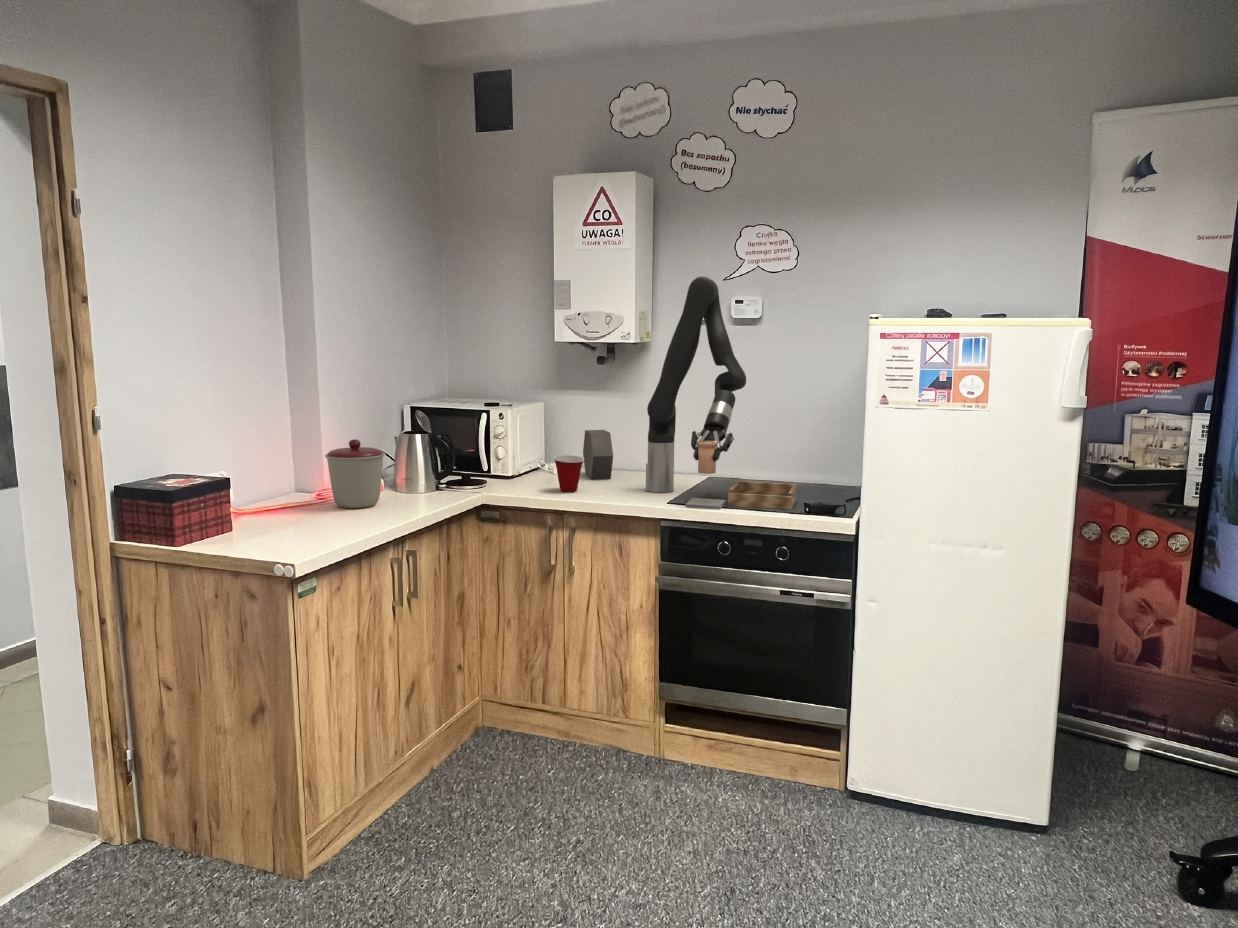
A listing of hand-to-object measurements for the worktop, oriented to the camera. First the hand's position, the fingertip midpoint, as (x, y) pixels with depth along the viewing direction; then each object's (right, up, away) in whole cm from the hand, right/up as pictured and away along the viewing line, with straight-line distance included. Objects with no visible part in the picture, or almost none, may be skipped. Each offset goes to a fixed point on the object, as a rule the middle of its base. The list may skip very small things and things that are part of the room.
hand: (705, 459), depth 276 cm
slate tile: (+1, -15, +4) cm, 15 cm away
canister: (-110, -15, -1) cm, 111 cm away
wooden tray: (+19, -14, +8) cm, 25 cm away
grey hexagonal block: (-35, -7, +58) cm, 69 cm away
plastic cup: (-45, -11, +27) cm, 53 cm away
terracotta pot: (+1, -4, +2) cm, 5 cm away
